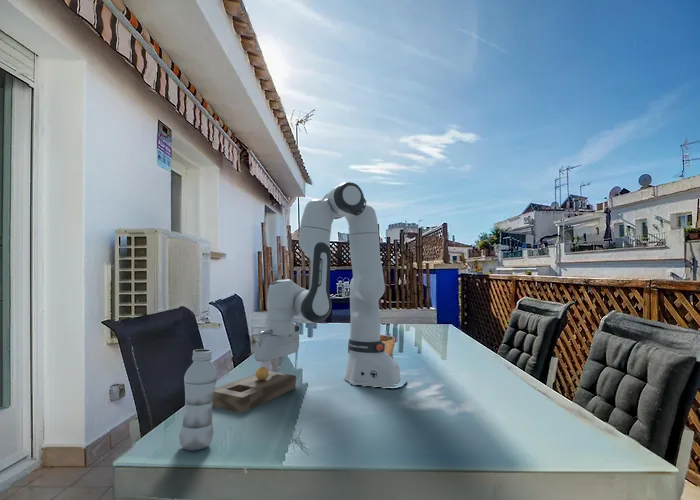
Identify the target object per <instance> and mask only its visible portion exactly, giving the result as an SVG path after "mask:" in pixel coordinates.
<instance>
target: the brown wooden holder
mask: <svg viewBox="0 0 700 500" xmlns="http://www.w3.org/2000/svg"><path fill="white" fill-rule="evenodd" d="M296 381H297V375H293V374H288V373H283V372H278V371H277V372H273V371H272V370H271V371H269V375H268V377H267V378H266V379H265V380H259V379H257V377H256V373H255V374H252V375H250V376H246V377H244V378H241V379H238V380H235V381H231V382H229V383H225V384H222V385H220V386H216V387H215V390H214V396H213V401H212V402H213V404H212V408H213V407H214V408H218V409H223V410H226V411H231V412H235V413H239V414H242V413H245V412H247V411H249V410H251V409H254V408H255V407H258V406H260V405H262V404H264V403H267V402H269V401H272V400H273V399H275V398H277V397H279V396H282V395H284V394H286V393H288V392H290V391H292V390H295V389H296V387H297V386H296Z"/></svg>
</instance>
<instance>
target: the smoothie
mask: <svg viewBox="0 0 700 500" xmlns="http://www.w3.org/2000/svg"><path fill="white" fill-rule="evenodd" d="M259 364H260V367H266V368H267V369H268V371H271V372H272V364H271V362H270V360H269V361H266V362H259ZM260 367H259V368H260Z"/></svg>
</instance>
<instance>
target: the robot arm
mask: <svg viewBox="0 0 700 500" xmlns="http://www.w3.org/2000/svg"><path fill="white" fill-rule="evenodd" d="M342 218H345V219H346V221H347V223H348V224H347V225H348V233H349V234H348V237H349V239H348V240H349V255H350V262H351V269H352V278H351V279H350V282H349V309H350V310H349V313H350V320H349V321H350V325H349V339H348V342H347V343H348V344H347V353H348V358H347V365H346V369H345V373H344V376H343V380H345V381H347V382H349V384H350V385H351V384H352V385H351V386H356V385H362V386H361V387H366V386H377V387H395V386H397V385H394V384H398V383H399V382H400V380H401V377H402V375H401V369H400V365H399V363H398V362H397V361H396V360H394V358H393V357H391V356H390V355H389V354H388V353H387V352H386V351H385V348H386V346H387V345H386V344H387V342H383V341H382V340H381V319H382V318H381V314H380V313H381V312H380V305H379V303H380V302H379V300H380V299H381V298H382V297H383V295H384V293H385V291H386V285H385V277H384V270H383V265H382V259H381V252H380V250H381V247H380V232H379V223H378V218H377V213H376V210H375V209H374V208H373V206H370V205H367V200H366V198H365V196H364V191H363V190H362V189H361V187H360V186H359V185H358V184H357V183H355V182H351V181H350V182H349V181H348V182H342V183H340V184H339V185H337V186H335V187H334V188H332V189H331V190H330V191H329V192H328V193H326V194H325V195H324V197H323V198H322V199H318V198H317V199H312V200H309V201H308V202H307V203H306V205H305V207H304V210H303V213H302V217H301V220H300V225H299V231H298V246H299V247H300V249H301V251H302V252H303V253H304V254H305V255H307V257H308V258H309V260H310V264H311V268H310V269H311V270H310V282H309V284H310V285H309V289H306V288H304V287H302V286H300V285H298V284H296V283H295V282H294V281H293V280H292V279H290V278H289V279H287V278H286V279H277V280H274V281H272V282H271V283H270V284H269V286H268V290H267V297H266V309H267V314H266V317H265V328H264V329H265V330H263V331H261V332H260V334H259V335H258V337H257V339H256V342H255V343H256V344H255V348H254V360H255V362H258V363H260V362H266V361H269V360H270V362H271V364H272V366H271V372H277V373H278V372H279V371H282V367H283V363H284V362H285V357H286V356H288V355H289V356H290V355H292V354H296V353H298V350H299V347H300V332H301V326H300V325H299V324H297V323H294V318H295V317H297V318H301V319H306V320H307V321H309V322H311V323H314V324H315V323H318V324H319V323H321V322H324V321H325V320H326V319H327V318H328V317H329V315H330V314H331V311H332V307H333V303H332V298H331V297H332V296H331V293H330V283H331V281H330V280H331V279H330V278H331V263H332V262H331V259H332V258H331V257H332V256H331V253H332V252H331V248H330V247H331V246H330V245H331V243H330V240H331V233H332V232H331V231H332V224H333V222H334V220H338V219H342Z"/></svg>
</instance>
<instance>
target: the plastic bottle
mask: <svg viewBox="0 0 700 500" xmlns="http://www.w3.org/2000/svg"><path fill="white" fill-rule="evenodd" d="M212 359H213V357H212V349H207V348H199V349H194V350H193V351H192V357H191V361H192V363H191V364H190V366H189V367H188V368H187V369H186V370H185V371H186V372H185V374H184V376H183V379H184V381H183V384H184V399H185V400H184V402H185V403H184V413H183V418H182V425H181V428H180V431H179V435H178V436H179V437H178V438H179V444H180V446H181V447H182V449H183V450H186V451H199V450H203V449H205V448H207V447H208V446H210V444H211V442H212V441H213V438H214V432H215V431H214V424H213V406H212V404H213V402H212V401H213V396H214V390H215V388H216V384H217V379H218V373H217V369H216V368H215V366H214V365H213V364H212V362H211V361H212Z"/></svg>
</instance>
